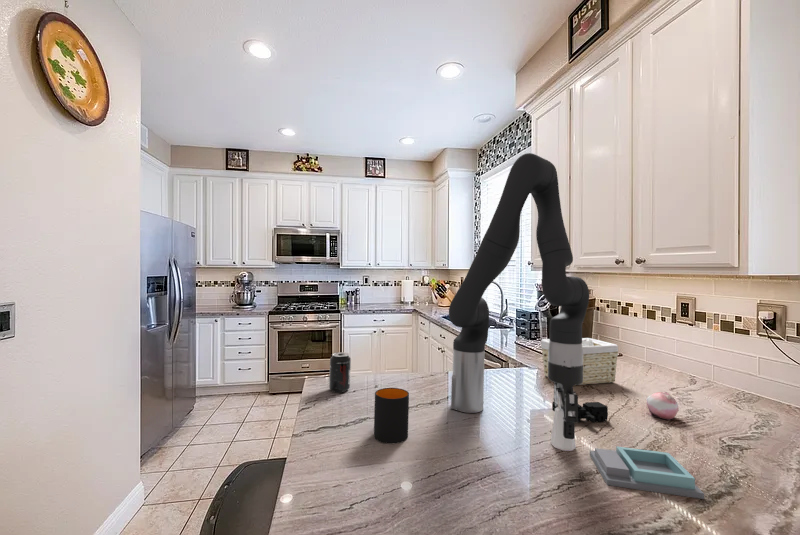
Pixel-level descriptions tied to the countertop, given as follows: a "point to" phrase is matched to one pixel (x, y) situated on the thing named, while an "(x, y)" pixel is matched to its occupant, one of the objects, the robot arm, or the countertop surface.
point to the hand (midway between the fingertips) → (564, 430)
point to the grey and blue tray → (645, 471)
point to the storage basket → (592, 360)
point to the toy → (591, 411)
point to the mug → (391, 415)
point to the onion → (662, 405)
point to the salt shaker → (560, 432)
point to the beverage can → (340, 372)
